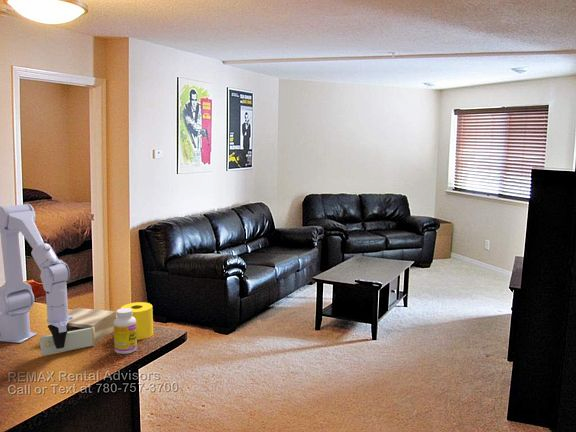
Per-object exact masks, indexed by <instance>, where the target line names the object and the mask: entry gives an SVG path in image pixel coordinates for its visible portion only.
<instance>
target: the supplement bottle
mask: <svg viewBox="0 0 576 432" xmlns="http://www.w3.org/2000/svg"><path fill="white" fill-rule="evenodd" d="M132 314H133V311H132V309H131V308H121V307H120V308H118V309H117V310H116V319H115V320H114V332H113V342H114V344H113V345H114V352H115V353H117V354H120V355H127V354H132V353H134V352H135V351H136V350H137V349H138V340H137V332H136V319H135V318H134V317H133V316H132Z"/></svg>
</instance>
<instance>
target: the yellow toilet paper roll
mask: <svg viewBox="0 0 576 432" xmlns="http://www.w3.org/2000/svg"><path fill="white" fill-rule="evenodd" d="M121 308H131V309H132V311H133V314H132V316H133V317H134V318H135V319H136V332H137V341H140V340H146V339H149V338H150V337H152V336H153V335H154V318H153V317H154V314H153V311H154V309H153V305H152V304H151V303H150V302H143V301H142V302H140V301H138V302H131V303H127V304H124V305H122V306H121V307H120V309H121Z"/></svg>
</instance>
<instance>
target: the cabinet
mask: <svg viewBox="0 0 576 432" xmlns="http://www.w3.org/2000/svg"><path fill="white" fill-rule="evenodd" d="M116 311H117V310H116ZM116 311H115V310H103V309H94V308H93V309H92V308H82V307H75V308H73V309H71V310H70V311H69V310H68V316H69V315H72V316H73V319H70V320H69V321H68V323H69V326H70V327H69V330H68V332H69V331H75V330H80V329H86V328H91V327H94V329H95V343H96V344H98V343H99V342H100V341H102V340H103V339H105V338H107V337H108V336H109V335H111V334H112V333H114V320H115V319H116V318H117V315H116ZM50 333H51V332H50ZM50 335H52V333H51V334H50ZM107 335H108V336H107ZM104 337H105V338H104ZM101 339H102V340H101ZM98 341H99V342H98Z"/></svg>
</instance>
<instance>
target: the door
mask: <svg viewBox="0 0 576 432" xmlns="http://www.w3.org/2000/svg"><path fill="white" fill-rule="evenodd" d="M39 343H40V345H39V347H40V355H41V357H43V356H48V355H52V354H57V353H63V352H68V351H73V350H78V349H83V348H89V347H93V346H96V344H95V329H94V327H91V328H86V329H80V330H75V331H69V332H67V334H66V339H65V345H64V348H59V349H56V346H55V343H54V339H53V336H52V335H51V334H48V335H42V336H40V337H39Z"/></svg>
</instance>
